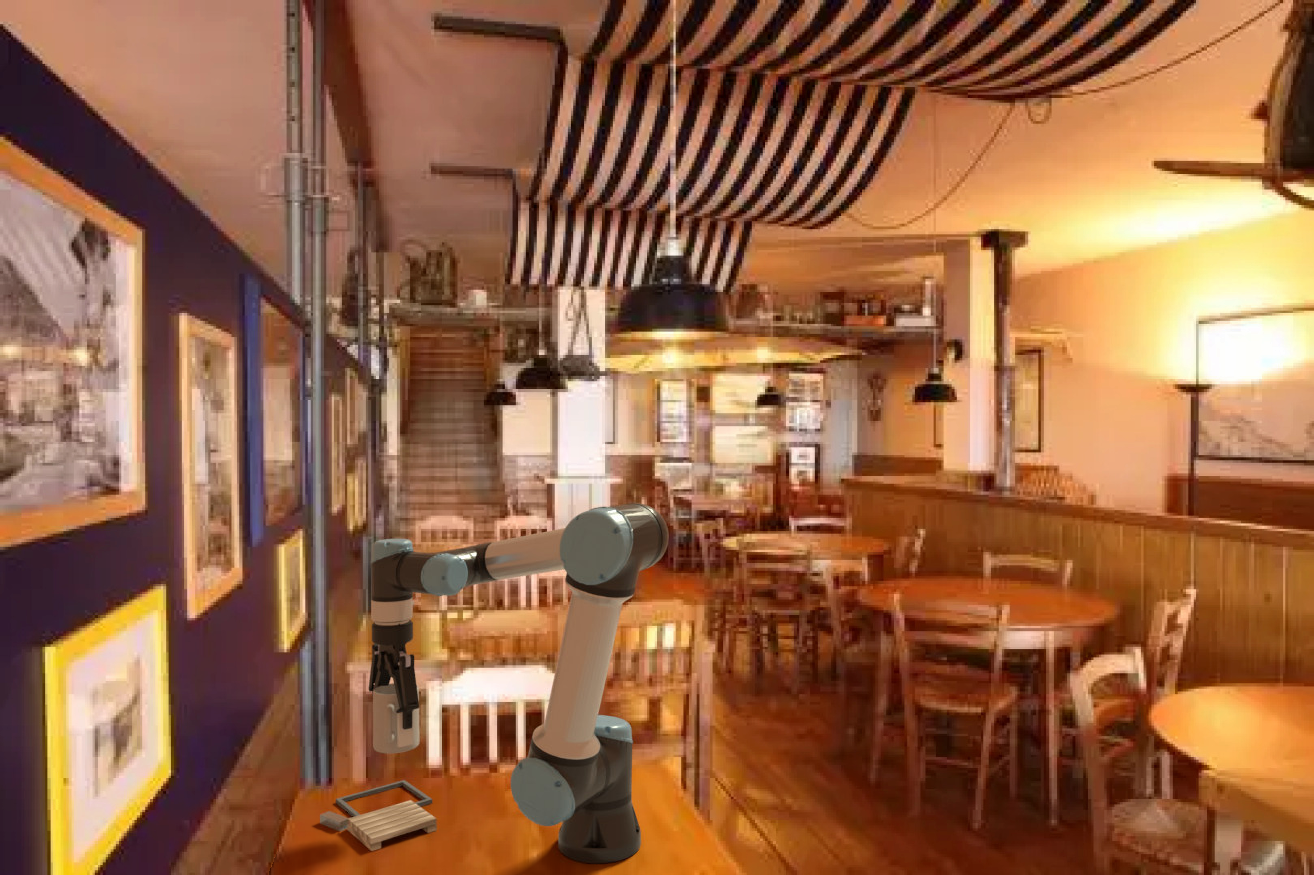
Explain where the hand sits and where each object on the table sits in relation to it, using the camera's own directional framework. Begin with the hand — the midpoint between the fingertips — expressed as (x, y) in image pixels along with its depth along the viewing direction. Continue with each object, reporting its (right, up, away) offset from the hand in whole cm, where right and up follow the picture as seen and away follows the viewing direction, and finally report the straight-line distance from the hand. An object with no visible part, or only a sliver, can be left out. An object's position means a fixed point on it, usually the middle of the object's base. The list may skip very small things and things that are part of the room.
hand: (393, 737), depth 168 cm
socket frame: (-5, -17, +11) cm, 21 cm away
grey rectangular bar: (-12, -18, +1) cm, 21 cm away
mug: (0, -2, -1) cm, 2 cm away
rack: (0, -17, -1) cm, 17 cm away
